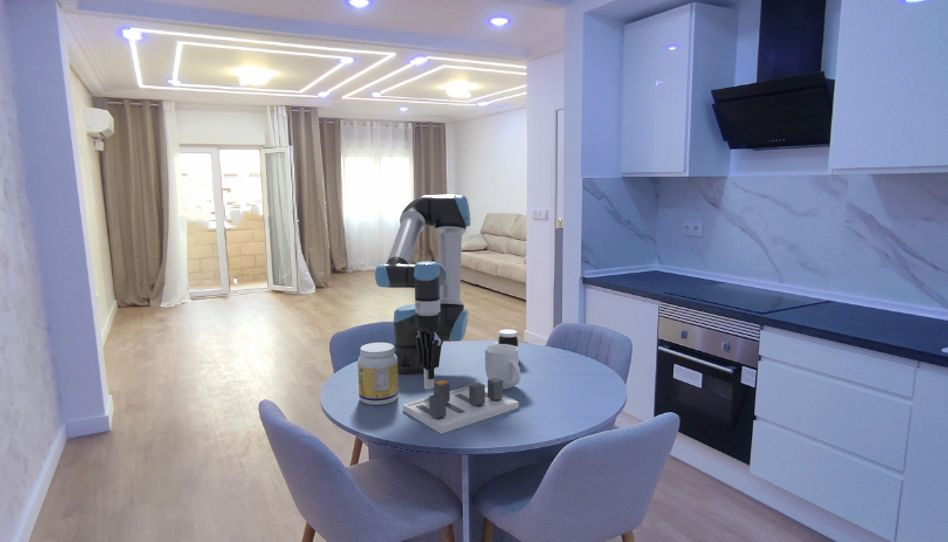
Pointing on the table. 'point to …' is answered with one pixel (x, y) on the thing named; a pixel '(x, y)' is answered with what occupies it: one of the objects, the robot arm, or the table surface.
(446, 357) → the table surface
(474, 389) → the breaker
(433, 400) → the breaker
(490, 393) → the breaker
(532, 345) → the table surface
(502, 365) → the mug
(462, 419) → the panel
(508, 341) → the spread jar
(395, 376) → the supplement tub
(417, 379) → the table surface
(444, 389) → the breaker
